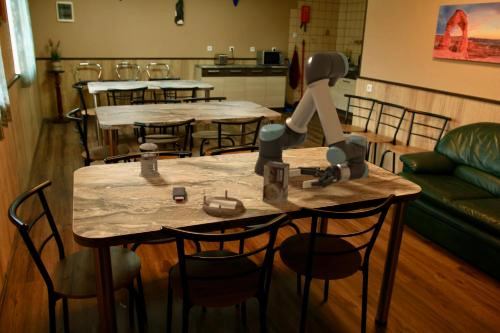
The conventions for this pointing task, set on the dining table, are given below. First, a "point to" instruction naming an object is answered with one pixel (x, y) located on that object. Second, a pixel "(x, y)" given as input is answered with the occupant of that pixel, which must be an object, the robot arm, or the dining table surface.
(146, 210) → the dining table surface
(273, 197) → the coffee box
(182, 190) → the usb drive
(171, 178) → the dining table surface
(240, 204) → the pin nest
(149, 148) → the french press
